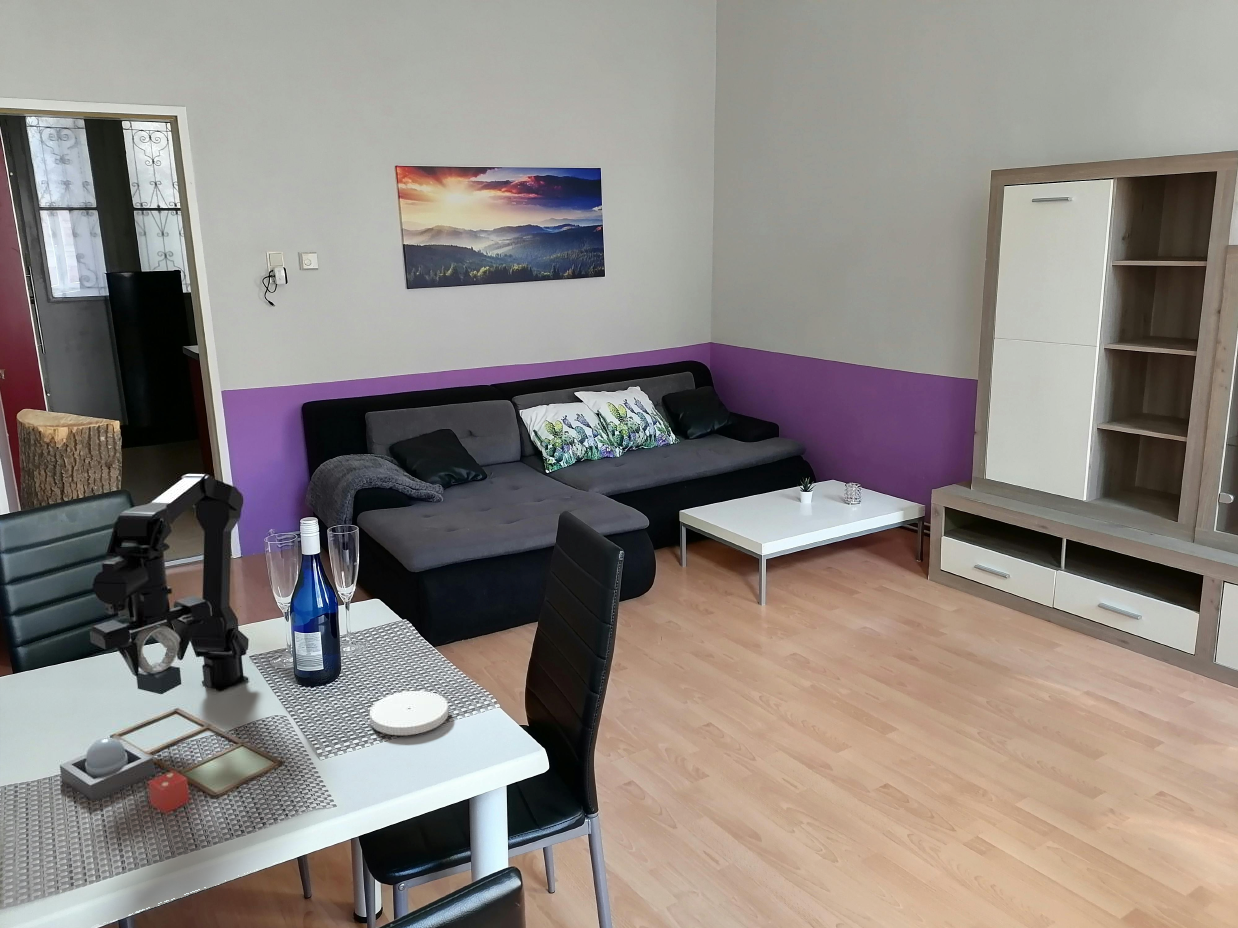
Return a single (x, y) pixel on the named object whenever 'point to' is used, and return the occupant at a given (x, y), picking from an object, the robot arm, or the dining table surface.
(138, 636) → the watch
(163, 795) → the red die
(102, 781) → the dome frame
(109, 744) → the dome button
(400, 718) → the plastic lid
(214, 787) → the brown flat frame
